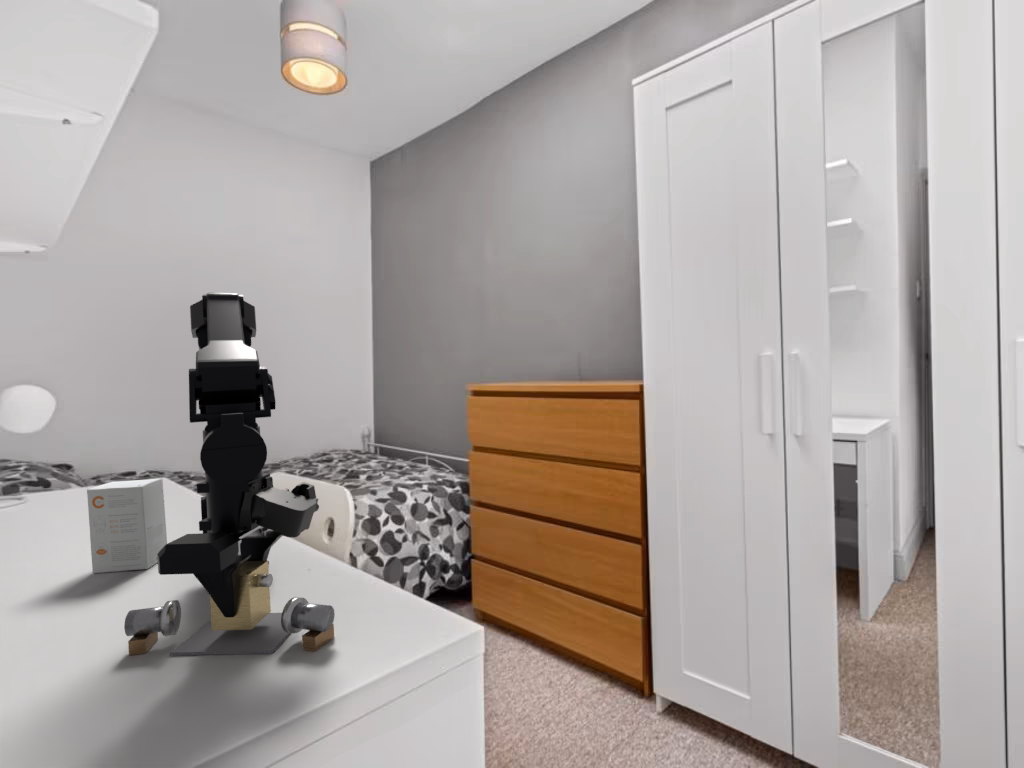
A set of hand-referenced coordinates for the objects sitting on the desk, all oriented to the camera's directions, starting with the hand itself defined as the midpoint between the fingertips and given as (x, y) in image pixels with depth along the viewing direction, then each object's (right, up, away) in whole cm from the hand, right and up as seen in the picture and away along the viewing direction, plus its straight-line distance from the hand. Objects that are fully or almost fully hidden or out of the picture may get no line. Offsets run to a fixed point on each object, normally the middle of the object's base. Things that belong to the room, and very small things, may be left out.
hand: (241, 607), depth 62 cm
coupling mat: (0, -3, 0) cm, 3 cm away
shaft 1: (-9, -3, -2) cm, 9 cm away
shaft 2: (+9, -3, -3) cm, 9 cm away
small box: (-30, -4, +25) cm, 39 cm away
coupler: (0, -2, 0) cm, 2 cm away
